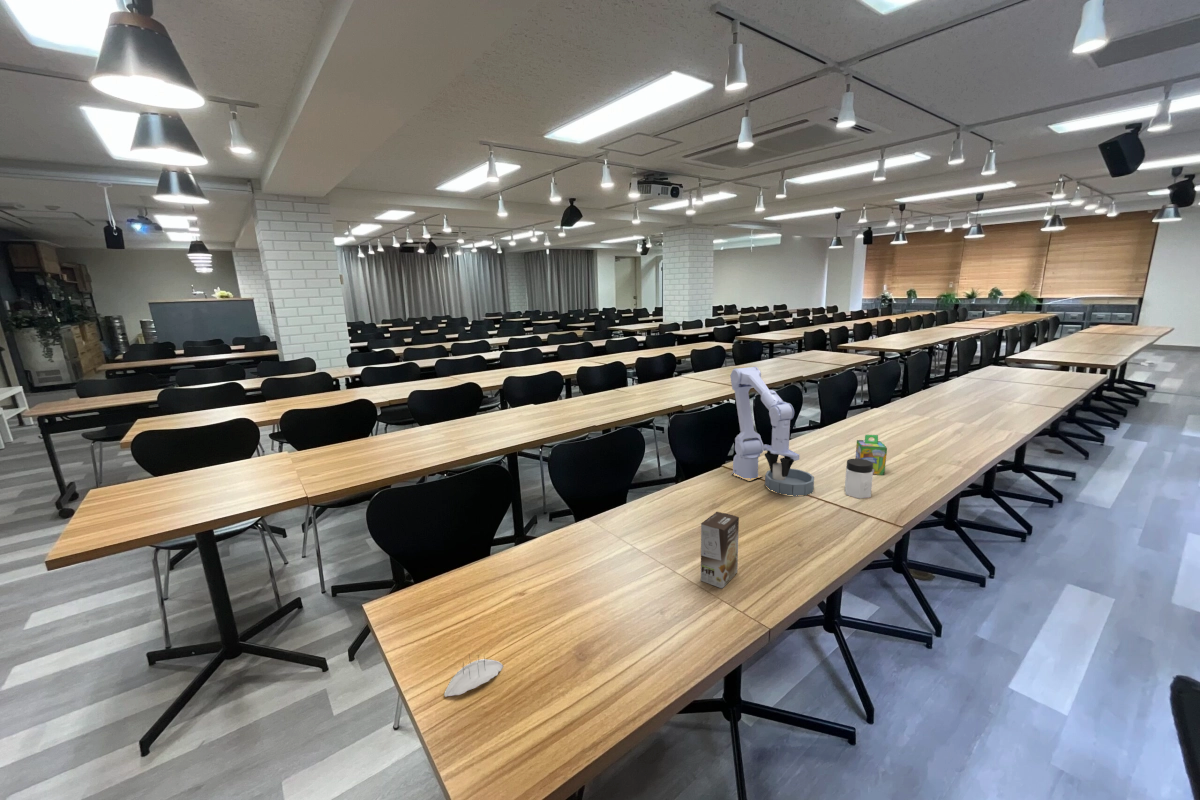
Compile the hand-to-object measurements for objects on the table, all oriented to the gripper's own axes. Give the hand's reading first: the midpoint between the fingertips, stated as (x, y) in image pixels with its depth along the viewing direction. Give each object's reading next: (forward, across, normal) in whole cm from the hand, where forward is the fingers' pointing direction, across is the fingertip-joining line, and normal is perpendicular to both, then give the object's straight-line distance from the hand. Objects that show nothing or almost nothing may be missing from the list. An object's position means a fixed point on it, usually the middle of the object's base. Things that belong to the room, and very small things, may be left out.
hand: (779, 474), depth 168 cm
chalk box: (+9, +5, +48) cm, 49 cm away
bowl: (+8, -3, +10) cm, 13 cm away
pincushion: (+9, +24, -117) cm, 120 cm away
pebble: (+1, 0, 0) cm, 1 cm away
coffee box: (+8, +25, -53) cm, 59 cm away
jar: (+8, +15, +24) cm, 29 cm away
